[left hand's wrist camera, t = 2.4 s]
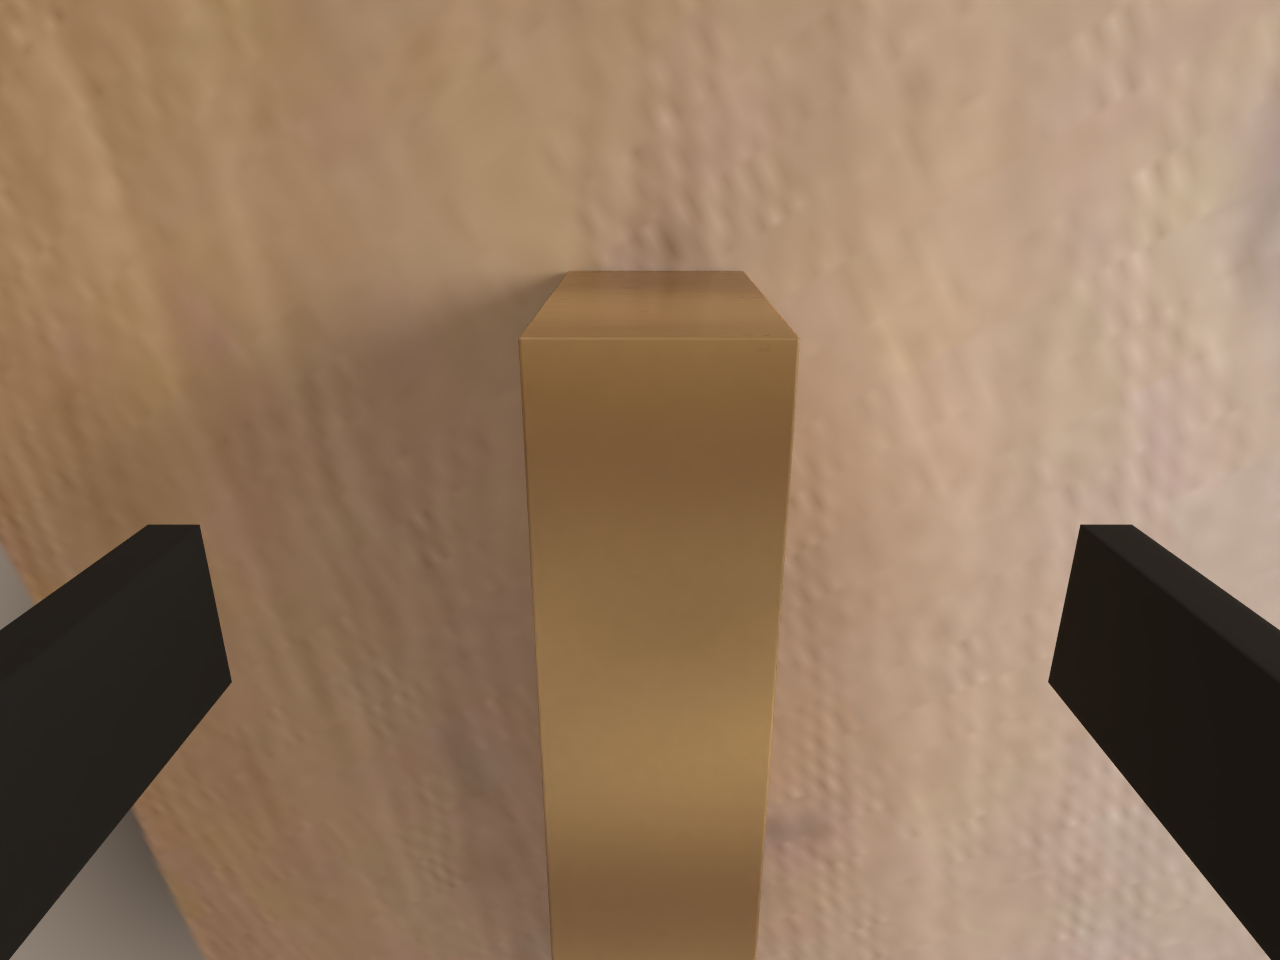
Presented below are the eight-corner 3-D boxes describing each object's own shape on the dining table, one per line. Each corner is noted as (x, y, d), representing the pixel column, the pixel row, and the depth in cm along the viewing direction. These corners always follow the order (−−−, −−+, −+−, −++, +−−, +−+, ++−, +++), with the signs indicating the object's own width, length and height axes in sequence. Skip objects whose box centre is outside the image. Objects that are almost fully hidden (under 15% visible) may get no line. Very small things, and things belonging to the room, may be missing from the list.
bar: (567, 270, 21) (517, 336, 13) (744, 271, 21) (800, 337, 13) (589, 962, 29) (567, 1250, 22) (713, 963, 29) (735, 1252, 22)
